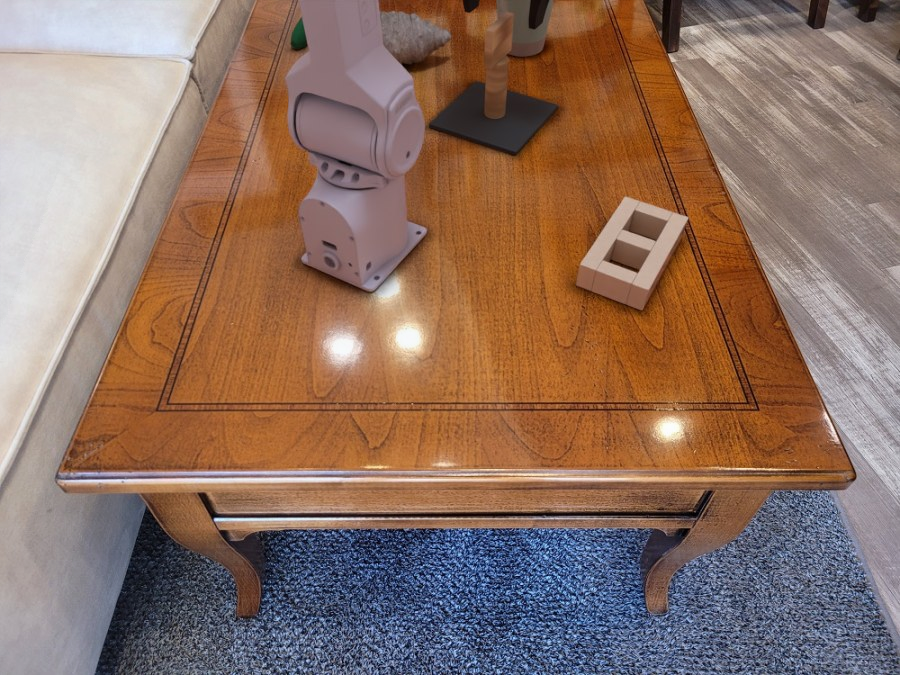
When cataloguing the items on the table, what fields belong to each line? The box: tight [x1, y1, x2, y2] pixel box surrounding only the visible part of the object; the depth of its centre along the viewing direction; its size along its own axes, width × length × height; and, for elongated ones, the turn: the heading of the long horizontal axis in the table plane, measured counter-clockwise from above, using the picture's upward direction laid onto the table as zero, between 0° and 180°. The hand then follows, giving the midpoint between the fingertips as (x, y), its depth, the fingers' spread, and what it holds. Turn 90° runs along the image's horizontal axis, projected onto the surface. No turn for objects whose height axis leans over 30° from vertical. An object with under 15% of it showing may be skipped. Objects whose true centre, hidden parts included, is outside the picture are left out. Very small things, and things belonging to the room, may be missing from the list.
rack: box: [575, 196, 689, 311], centre depth 61 cm, size 6×11×3 cm, turn 150°
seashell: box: [380, 10, 452, 66], centre depth 84 cm, size 6×14×8 cm, turn 99°
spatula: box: [483, 12, 514, 119], centre depth 73 cm, size 5×2×10 cm, turn 150°
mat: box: [428, 80, 559, 156], centre depth 78 cm, size 11×11×1 cm
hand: (503, 17), depth 72 cm, fingers open, 7 cm apart
